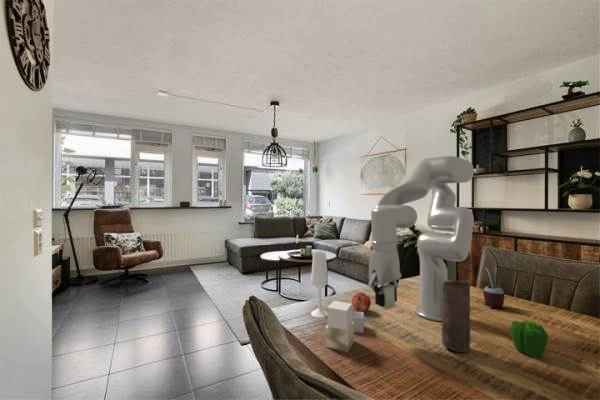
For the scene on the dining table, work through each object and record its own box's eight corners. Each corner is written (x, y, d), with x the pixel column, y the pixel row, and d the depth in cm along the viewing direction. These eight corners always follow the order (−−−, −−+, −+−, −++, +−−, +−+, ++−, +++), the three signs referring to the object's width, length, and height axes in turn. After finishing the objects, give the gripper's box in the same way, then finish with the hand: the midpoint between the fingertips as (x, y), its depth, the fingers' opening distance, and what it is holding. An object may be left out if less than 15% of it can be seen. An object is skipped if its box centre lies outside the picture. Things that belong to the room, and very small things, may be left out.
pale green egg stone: (395, 302, 90) (395, 284, 90) (393, 309, 85) (393, 289, 85) (379, 300, 92) (378, 282, 92) (376, 306, 87) (375, 287, 87)
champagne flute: (322, 309, 113) (322, 250, 113) (331, 315, 107) (331, 253, 107) (307, 312, 110) (307, 251, 110) (316, 318, 104) (315, 254, 104)
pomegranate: (354, 311, 116) (344, 302, 110) (361, 295, 118) (352, 285, 112) (370, 319, 110) (360, 310, 104) (377, 302, 113) (368, 292, 107)
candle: (469, 358, 78) (469, 287, 78) (440, 351, 82) (440, 283, 82) (470, 346, 84) (470, 280, 84) (443, 339, 88) (443, 277, 88)
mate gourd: (501, 311, 109) (501, 273, 109) (478, 305, 116) (478, 269, 115) (507, 307, 114) (507, 270, 114) (485, 301, 120) (485, 267, 120)
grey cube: (363, 326, 98) (363, 312, 98) (363, 333, 93) (363, 318, 93) (349, 325, 99) (348, 311, 99) (348, 331, 94) (348, 317, 94)
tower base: (353, 341, 88) (353, 322, 88) (347, 352, 82) (347, 332, 81) (332, 336, 91) (332, 318, 91) (325, 347, 85) (325, 327, 84)
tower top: (352, 322, 88) (351, 303, 87) (346, 331, 82) (346, 310, 82) (333, 319, 90) (333, 300, 90) (327, 327, 85) (327, 307, 85)
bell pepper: (508, 342, 87) (508, 310, 87) (543, 349, 83) (543, 315, 83) (513, 355, 80) (513, 320, 79) (551, 363, 75) (551, 327, 75)
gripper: (391, 240, 96) (393, 292, 97) (356, 248, 86) (358, 306, 87) (411, 244, 90) (412, 299, 90) (375, 252, 80) (377, 314, 81)
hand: (386, 302), depth 89 cm, fingers closed on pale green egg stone, 5 cm apart
